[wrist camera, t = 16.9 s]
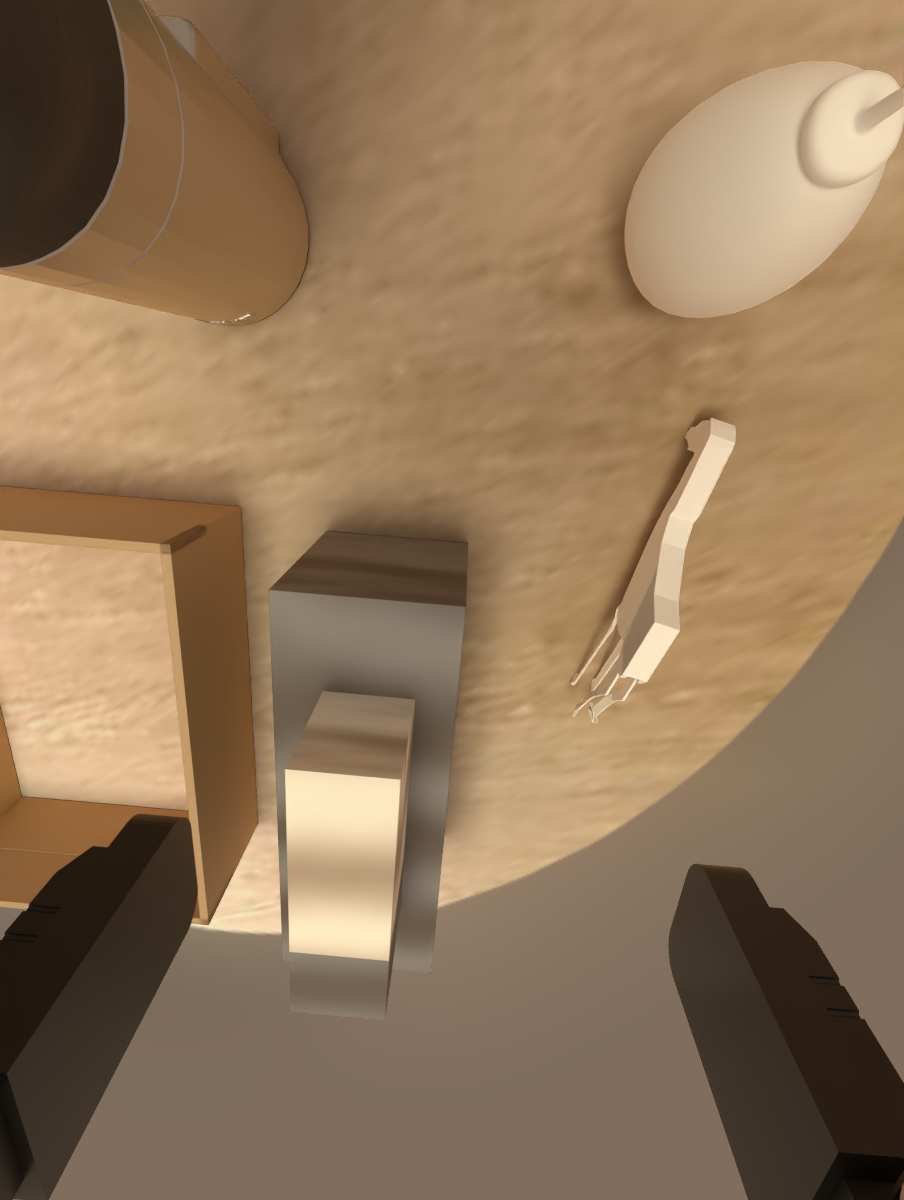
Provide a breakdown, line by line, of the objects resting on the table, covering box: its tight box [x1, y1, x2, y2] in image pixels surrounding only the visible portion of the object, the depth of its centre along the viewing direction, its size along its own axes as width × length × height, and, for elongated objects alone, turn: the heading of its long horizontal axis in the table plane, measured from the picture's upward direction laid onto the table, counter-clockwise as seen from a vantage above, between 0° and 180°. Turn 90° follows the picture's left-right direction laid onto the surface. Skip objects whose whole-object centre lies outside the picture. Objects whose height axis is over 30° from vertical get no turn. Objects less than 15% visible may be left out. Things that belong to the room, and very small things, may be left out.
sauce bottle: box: [624, 61, 904, 318], centre depth 22 cm, size 8×8×18 cm
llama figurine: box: [570, 418, 736, 723], centre depth 34 cm, size 2×11×18 cm
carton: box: [0, 486, 258, 925], centre depth 36 cm, size 25×20×9 cm
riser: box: [269, 531, 468, 974], centre depth 35 cm, size 24×9×11 cm, turn 175°
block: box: [285, 691, 415, 1020], centre depth 27 cm, size 14×4×6 cm, turn 175°
